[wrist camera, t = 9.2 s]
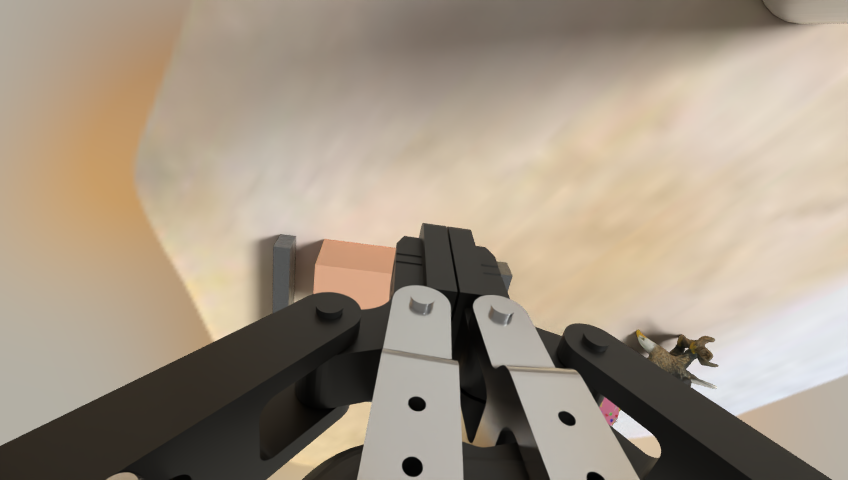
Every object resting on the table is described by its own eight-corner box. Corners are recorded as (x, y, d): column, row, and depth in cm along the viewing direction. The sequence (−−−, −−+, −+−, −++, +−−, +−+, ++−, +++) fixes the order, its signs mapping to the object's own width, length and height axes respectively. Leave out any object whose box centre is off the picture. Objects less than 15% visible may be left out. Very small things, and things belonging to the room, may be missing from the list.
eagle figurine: (677, 298, 36) (588, 353, 36) (748, 371, 32) (648, 433, 32) (661, 322, 42) (586, 369, 43) (719, 385, 39) (636, 437, 39)
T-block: (471, 257, 34) (479, 284, 31) (443, 366, 40) (447, 399, 36) (324, 238, 33) (315, 264, 29) (316, 353, 38) (307, 387, 35)
